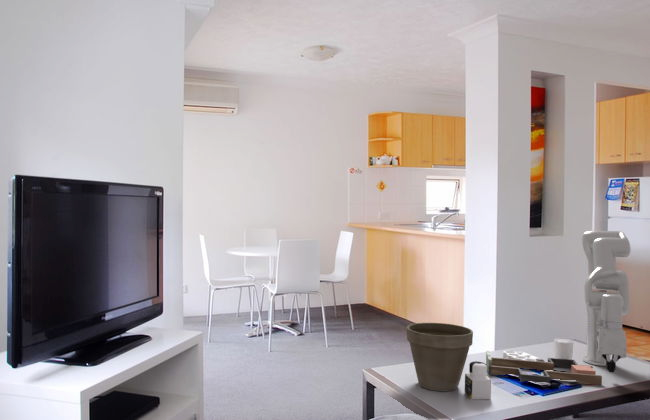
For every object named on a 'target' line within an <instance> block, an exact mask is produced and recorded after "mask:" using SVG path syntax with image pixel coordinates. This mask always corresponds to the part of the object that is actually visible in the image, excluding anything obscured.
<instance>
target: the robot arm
mask: <svg viewBox="0 0 650 420" xmlns="http://www.w3.org/2000/svg"><path fill="white" fill-rule="evenodd" d="M581 243H582V248H583V251H584V254H585V255H586V259H587V277H586V280H585V281H584V285H583V288H584V301H585V306H586V307H585V308H586V313H587V323H586V324H587V328H586V329H587V330H586V332H587V336H586V355H585V356H583V357H582V361H583V362H584V363H587V364H590V365H592V366H593V365H594V366H599V367H605V368H606V370H607V372H609V373H615V371H616V363H617V362H618V361H619V360H620V359H625V358H627V353H628V349H627V347H628V346H627V345H628V344H627V337H626V335H627V334H626V331H625V329H623V316H628V314H630V309H631V300H630V283H629V277H628V274H627V273H626V272H624V271H623V270H618V269H617V260H616V258H628V257H629V256H630V255H631V244H630V240H629V238H628V237H627V236H626V234H625V233H624V232H623V231H621V230H620V231H618V230H588V231H585V232H584V233H583V234H582V237H581Z"/></svg>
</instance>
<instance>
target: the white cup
mask: <svg viewBox="0 0 650 420" xmlns="http://www.w3.org/2000/svg"><path fill="white" fill-rule="evenodd" d="M553 346H554V347H553V348H554V349H553V350H554V351H553V352H554V358H557V359H569V360H573V359H572V358H573V353H574V341H573V340H570V339H567V338H555V339H553Z"/></svg>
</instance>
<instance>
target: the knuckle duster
mask: <svg viewBox="0 0 650 420" xmlns="http://www.w3.org/2000/svg"><path fill="white" fill-rule="evenodd" d="M502 358H505V359H517V360H528V361H540V362H546V360H545V359H543V358H541V357H537V356H535V355H533V354H530V353H527V352H525V351H514V350H504V351H502Z"/></svg>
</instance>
